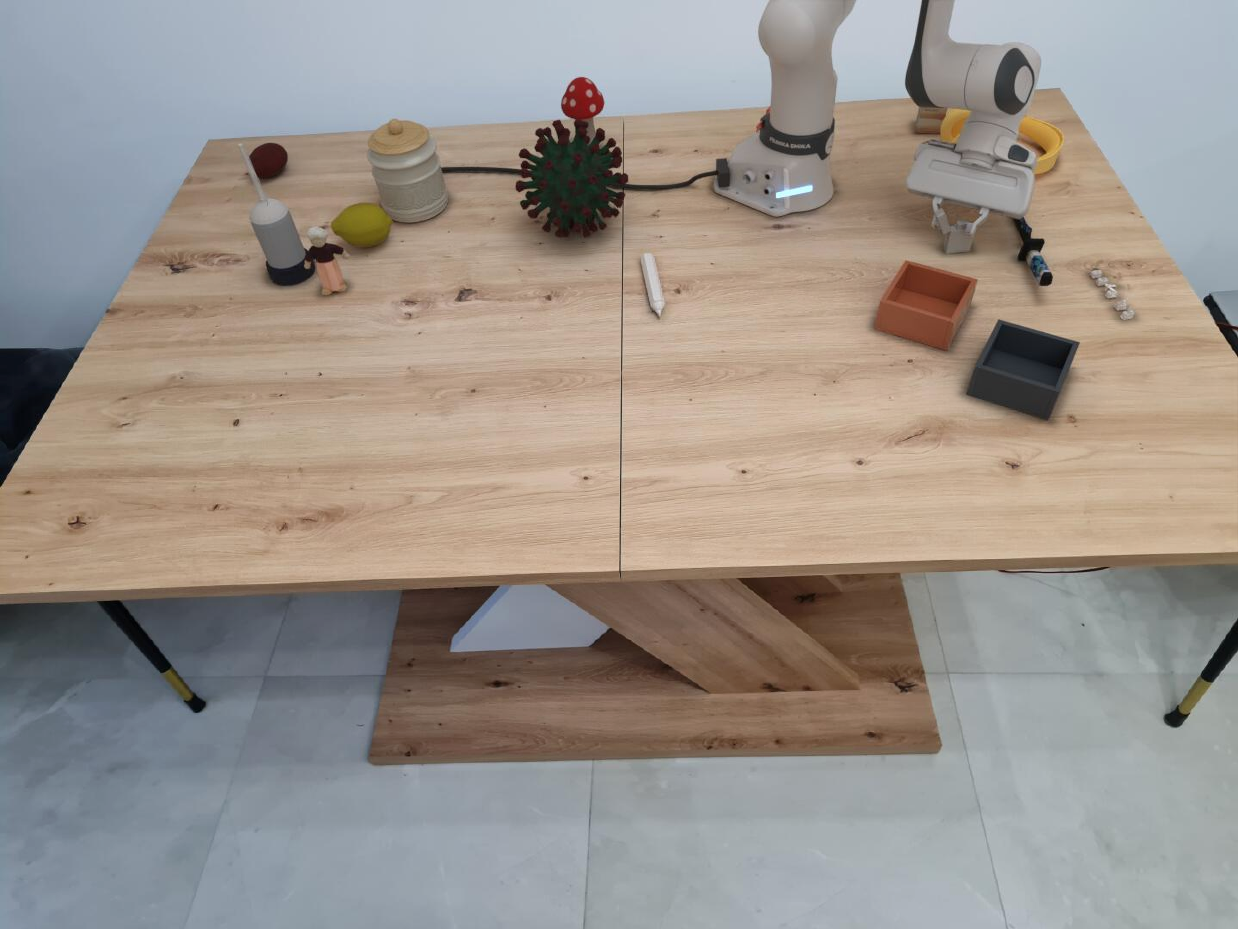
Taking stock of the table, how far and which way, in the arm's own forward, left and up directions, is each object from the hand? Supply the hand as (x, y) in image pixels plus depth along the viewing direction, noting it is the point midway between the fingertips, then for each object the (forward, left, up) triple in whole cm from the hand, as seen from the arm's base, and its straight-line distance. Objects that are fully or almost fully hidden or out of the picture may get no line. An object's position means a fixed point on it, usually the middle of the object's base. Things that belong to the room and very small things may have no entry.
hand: (952, 230), depth 151 cm
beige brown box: (-16, +39, -5) cm, 42 cm away
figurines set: (+27, 0, -5) cm, 27 cm away
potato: (-131, -32, -5) cm, 135 cm away
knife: (+11, +7, -5) cm, 14 cm away
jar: (-95, -28, -5) cm, 99 cm away
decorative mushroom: (-75, +3, -5) cm, 75 cm away
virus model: (-62, -21, -5) cm, 66 cm away
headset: (-1, +33, -5) cm, 33 cm away
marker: (-40, -31, -5) cm, 51 cm away
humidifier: (-102, -55, -5) cm, 116 cm away
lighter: (0, +1, -5) cm, 5 cm away
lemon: (-95, -42, -5) cm, 104 cm away
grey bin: (+19, -26, -4) cm, 33 cm away
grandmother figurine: (-91, -55, -5) cm, 107 cm away
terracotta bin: (+2, -18, -4) cm, 19 cm away
